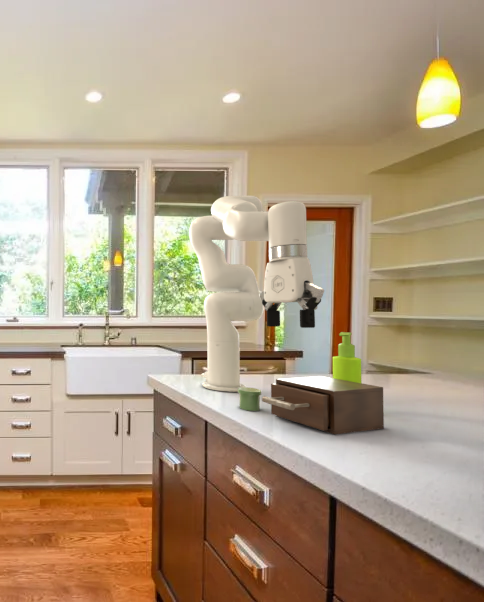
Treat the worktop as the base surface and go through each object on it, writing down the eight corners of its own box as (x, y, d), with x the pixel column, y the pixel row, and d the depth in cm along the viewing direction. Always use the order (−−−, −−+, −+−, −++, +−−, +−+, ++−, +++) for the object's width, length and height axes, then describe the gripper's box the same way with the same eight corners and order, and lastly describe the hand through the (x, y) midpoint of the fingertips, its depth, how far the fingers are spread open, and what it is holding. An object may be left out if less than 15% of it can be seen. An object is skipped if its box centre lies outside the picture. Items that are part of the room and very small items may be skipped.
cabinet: (334, 434, 77) (334, 391, 77) (276, 416, 90) (275, 379, 90) (383, 428, 81) (383, 387, 81) (321, 411, 94) (320, 375, 94)
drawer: (302, 433, 76) (302, 397, 76) (252, 415, 88) (251, 385, 88) (369, 424, 81) (369, 391, 81) (313, 409, 93) (313, 380, 93)
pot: (233, 406, 99) (232, 387, 99) (249, 405, 100) (249, 386, 100) (249, 412, 94) (249, 392, 94) (266, 410, 95) (266, 391, 95)
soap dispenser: (330, 407, 98) (329, 332, 98) (335, 402, 103) (334, 331, 103) (359, 412, 94) (358, 333, 94) (363, 406, 98) (362, 332, 98)
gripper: (247, 260, 96) (249, 326, 95) (305, 248, 79) (307, 328, 78) (273, 260, 97) (275, 326, 96) (335, 249, 80) (338, 328, 79)
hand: (289, 327), depth 87 cm, fingers open, 9 cm apart
